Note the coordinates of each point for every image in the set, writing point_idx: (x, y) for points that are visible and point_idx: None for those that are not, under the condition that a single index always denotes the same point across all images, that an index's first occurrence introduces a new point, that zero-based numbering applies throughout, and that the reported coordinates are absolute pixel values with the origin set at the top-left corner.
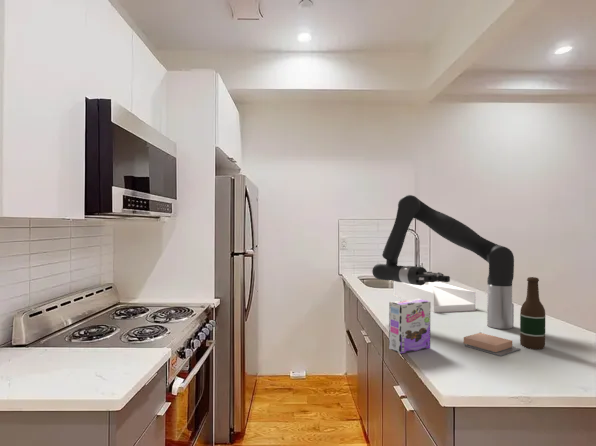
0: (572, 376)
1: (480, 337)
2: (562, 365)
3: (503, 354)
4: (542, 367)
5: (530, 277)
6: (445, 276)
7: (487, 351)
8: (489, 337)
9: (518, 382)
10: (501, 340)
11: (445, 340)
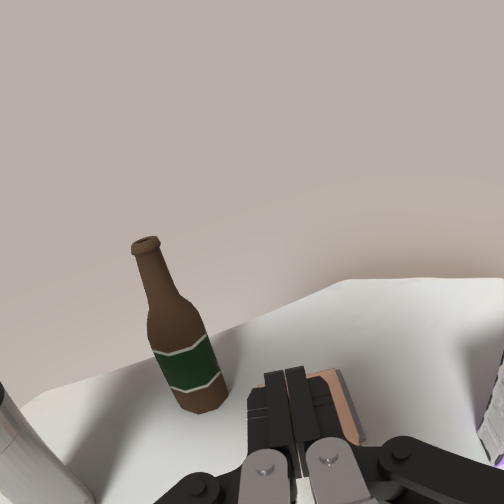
0: (310, 305)
1: None
2: (277, 329)
3: None
4: (317, 327)
5: (137, 244)
6: (305, 375)
7: (347, 390)
8: None
9: (402, 297)
10: None
11: None
